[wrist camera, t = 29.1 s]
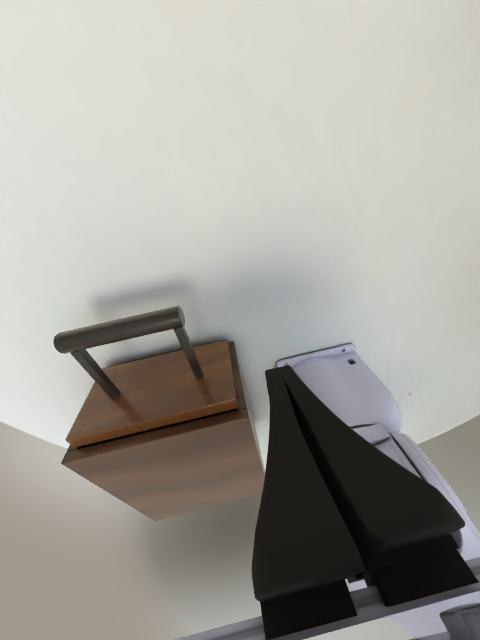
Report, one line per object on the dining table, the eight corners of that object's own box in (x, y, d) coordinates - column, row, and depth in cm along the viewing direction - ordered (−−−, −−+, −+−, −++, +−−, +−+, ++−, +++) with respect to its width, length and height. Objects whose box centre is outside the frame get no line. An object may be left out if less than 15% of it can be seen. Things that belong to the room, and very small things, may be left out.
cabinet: (105, 370, 22) (60, 463, 15) (233, 340, 22) (249, 417, 15) (165, 444, 31) (155, 521, 24) (254, 422, 32) (269, 492, 25)
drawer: (54, 311, 17) (-20, 380, 11) (209, 276, 17) (214, 326, 11) (162, 442, 29) (153, 504, 24) (249, 421, 30) (260, 477, 24)
